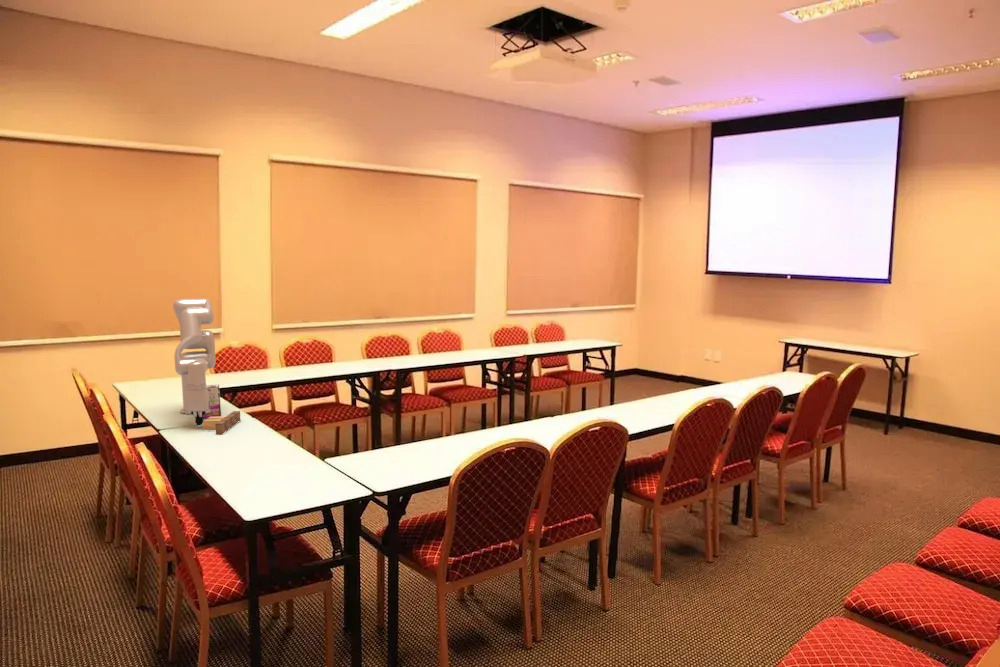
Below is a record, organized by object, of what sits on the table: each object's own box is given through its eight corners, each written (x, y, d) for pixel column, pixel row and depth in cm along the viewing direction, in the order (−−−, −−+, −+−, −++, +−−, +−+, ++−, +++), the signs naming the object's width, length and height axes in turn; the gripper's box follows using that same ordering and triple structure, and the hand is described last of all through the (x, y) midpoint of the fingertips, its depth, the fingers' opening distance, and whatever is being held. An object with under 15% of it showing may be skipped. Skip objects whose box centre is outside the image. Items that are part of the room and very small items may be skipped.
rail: (234, 420, 329) (233, 411, 329) (240, 420, 329) (239, 411, 329) (215, 434, 306) (215, 423, 305) (222, 434, 306) (221, 423, 305)
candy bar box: (221, 415, 340) (219, 384, 338) (221, 417, 335) (219, 385, 333) (197, 417, 336) (195, 385, 334) (196, 419, 331) (195, 387, 329)
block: (210, 426, 320) (209, 416, 319) (227, 426, 320) (226, 416, 319) (203, 431, 312) (203, 420, 311) (221, 431, 312) (220, 420, 311)
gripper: (177, 388, 310) (180, 427, 313) (210, 388, 311) (212, 426, 313) (184, 385, 318) (186, 422, 320) (216, 385, 319) (218, 422, 321)
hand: (199, 424), depth 317 cm, fingers closed
